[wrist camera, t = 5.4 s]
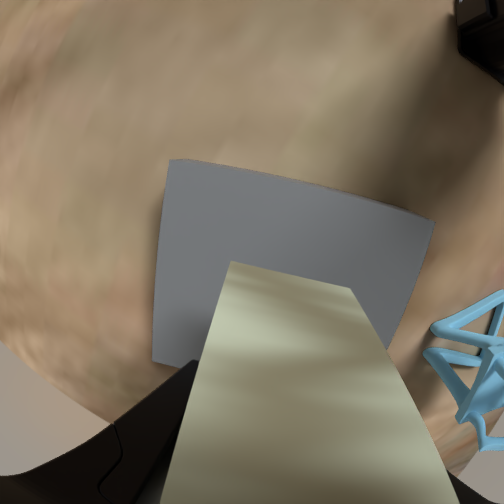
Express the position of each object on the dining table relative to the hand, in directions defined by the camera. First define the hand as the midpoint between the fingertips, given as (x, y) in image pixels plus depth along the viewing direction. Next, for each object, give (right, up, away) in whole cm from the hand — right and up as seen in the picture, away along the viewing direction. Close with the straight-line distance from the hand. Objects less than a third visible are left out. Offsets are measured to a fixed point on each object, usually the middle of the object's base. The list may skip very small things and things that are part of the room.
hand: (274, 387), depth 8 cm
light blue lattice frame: (+18, -3, +12) cm, 22 cm away
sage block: (0, +1, +2) cm, 2 cm away
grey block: (+1, +2, +11) cm, 12 cm away
